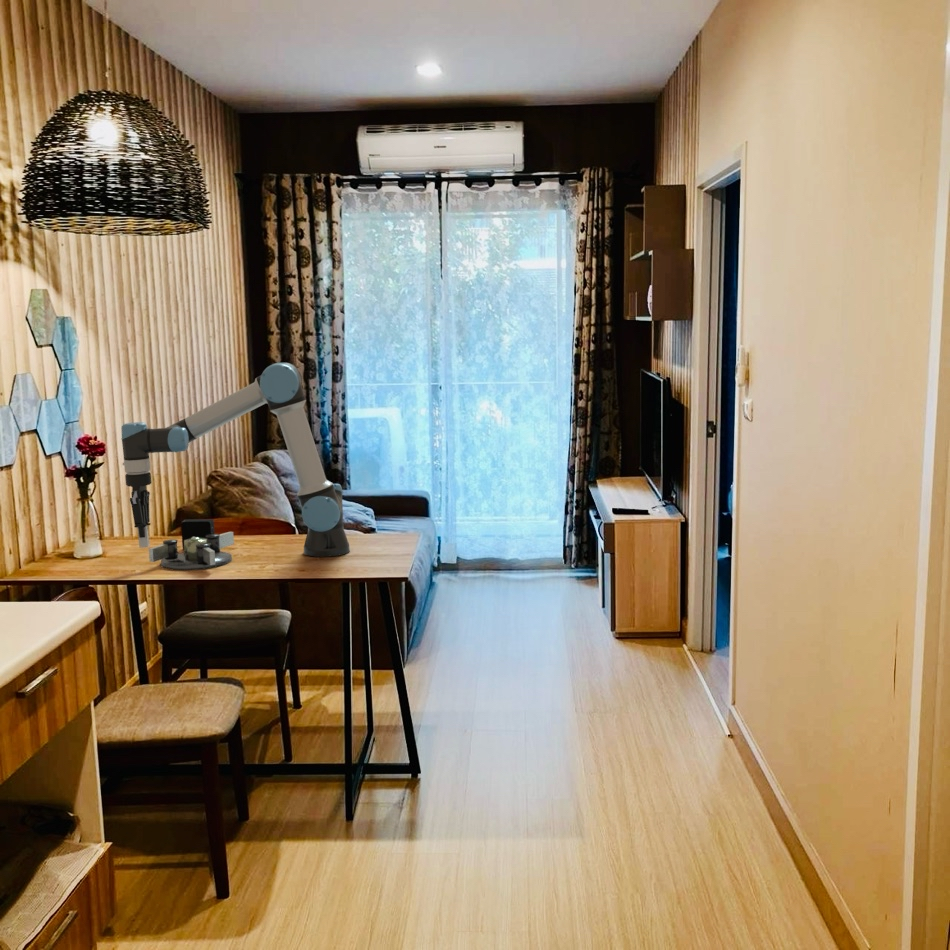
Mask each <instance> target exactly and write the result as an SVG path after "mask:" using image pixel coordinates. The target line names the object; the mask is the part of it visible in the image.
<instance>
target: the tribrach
mask: <svg viewBox="0 0 950 950" xmlns="http://www.w3.org/2000/svg"><path fill="white" fill-rule="evenodd" d="M199 543H207V539H206V538H199V537H192V538H191V539H186V540H184V548H185V550H184V552H178V558H177V559H172V560H166V559H165V558H164V559H161V560H160V566H161V567H162V568H163V569H166V570H170V569H173V570H172V571H198V570H207V569H213V568H217V567H218V568H219V567H222V566H224V565H227V564H229V563H231V562H232V560H233V559H232V554H231V553H230V552H227V551H222V550H220V552H219V553H215V565H209V564H208V563H205V564H199V563H197V547H196V544H199Z"/></svg>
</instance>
